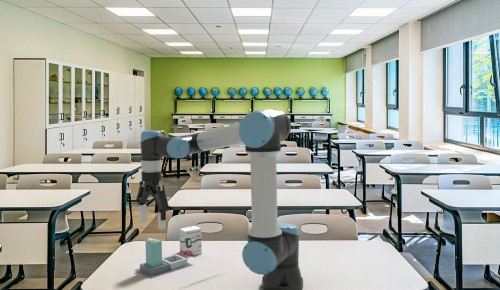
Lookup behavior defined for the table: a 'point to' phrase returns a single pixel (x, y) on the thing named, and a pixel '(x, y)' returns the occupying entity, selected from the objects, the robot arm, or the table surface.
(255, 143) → the robot arm
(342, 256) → the table surface
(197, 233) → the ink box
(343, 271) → the table surface
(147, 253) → the plug
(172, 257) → the panel
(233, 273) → the table surface
